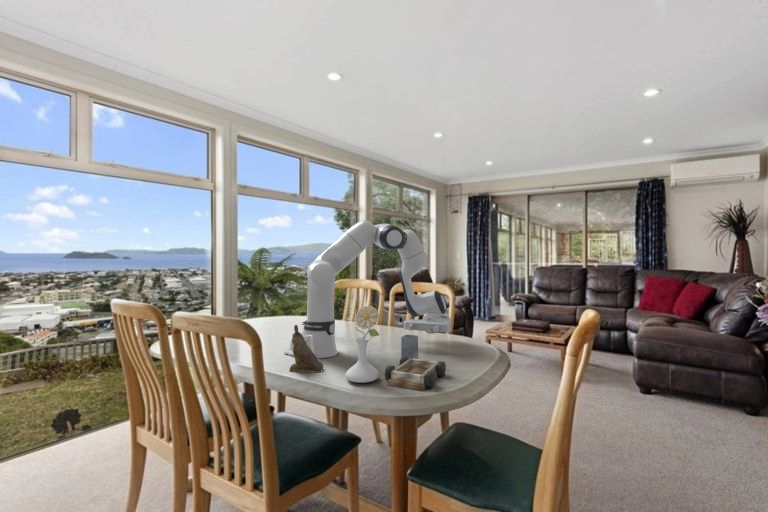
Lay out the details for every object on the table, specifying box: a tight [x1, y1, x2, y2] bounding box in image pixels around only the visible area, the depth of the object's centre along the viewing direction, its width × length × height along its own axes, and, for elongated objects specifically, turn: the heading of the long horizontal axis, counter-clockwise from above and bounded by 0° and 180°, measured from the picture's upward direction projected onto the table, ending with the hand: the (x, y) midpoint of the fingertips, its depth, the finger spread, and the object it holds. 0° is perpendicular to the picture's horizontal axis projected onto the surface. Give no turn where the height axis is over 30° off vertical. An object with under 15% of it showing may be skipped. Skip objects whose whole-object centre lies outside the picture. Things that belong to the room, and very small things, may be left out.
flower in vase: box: [344, 305, 381, 384], centre depth 124 cm, size 13×11×25 cm
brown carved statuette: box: [289, 324, 324, 372], centre depth 135 cm, size 12×6×18 cm, turn 85°
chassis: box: [384, 356, 447, 392], centre depth 126 cm, size 15×20×5 cm
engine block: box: [400, 334, 419, 360], centre depth 145 cm, size 5×5×10 cm
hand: (421, 329), depth 156 cm, fingers open, 8 cm apart
